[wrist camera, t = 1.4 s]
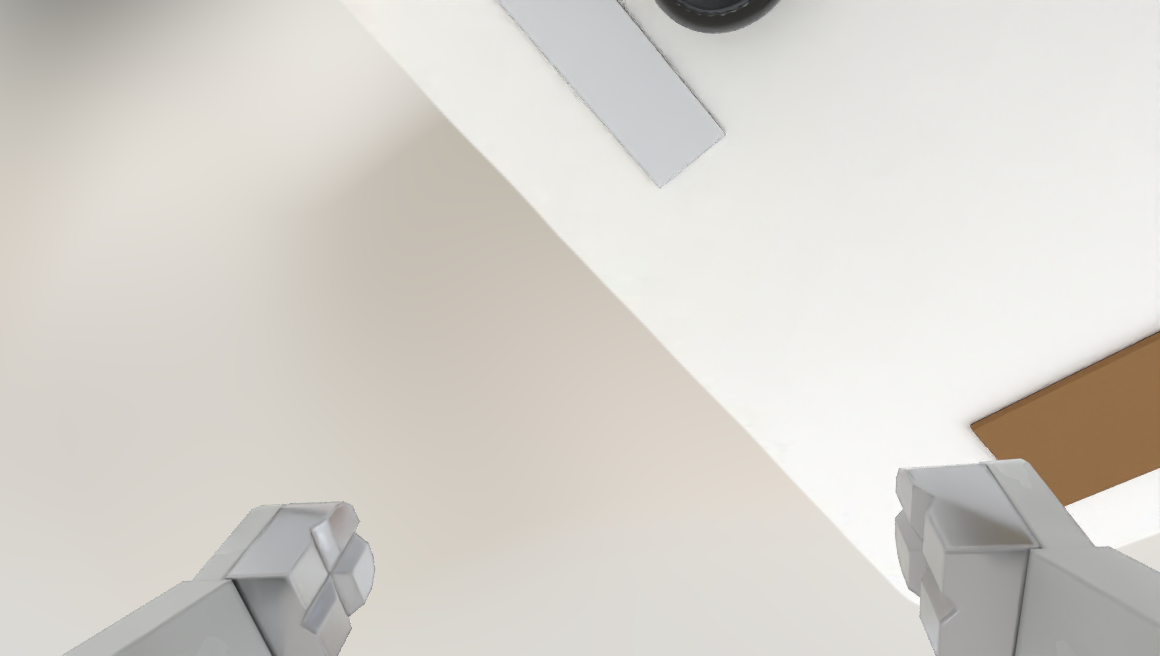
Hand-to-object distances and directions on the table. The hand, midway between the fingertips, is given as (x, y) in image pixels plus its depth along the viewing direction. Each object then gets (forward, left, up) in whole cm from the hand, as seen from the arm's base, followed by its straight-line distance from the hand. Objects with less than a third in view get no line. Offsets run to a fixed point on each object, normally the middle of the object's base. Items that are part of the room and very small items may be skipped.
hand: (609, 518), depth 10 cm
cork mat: (-19, +28, -34) cm, 48 cm away
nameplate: (+5, -8, -34) cm, 35 cm away
